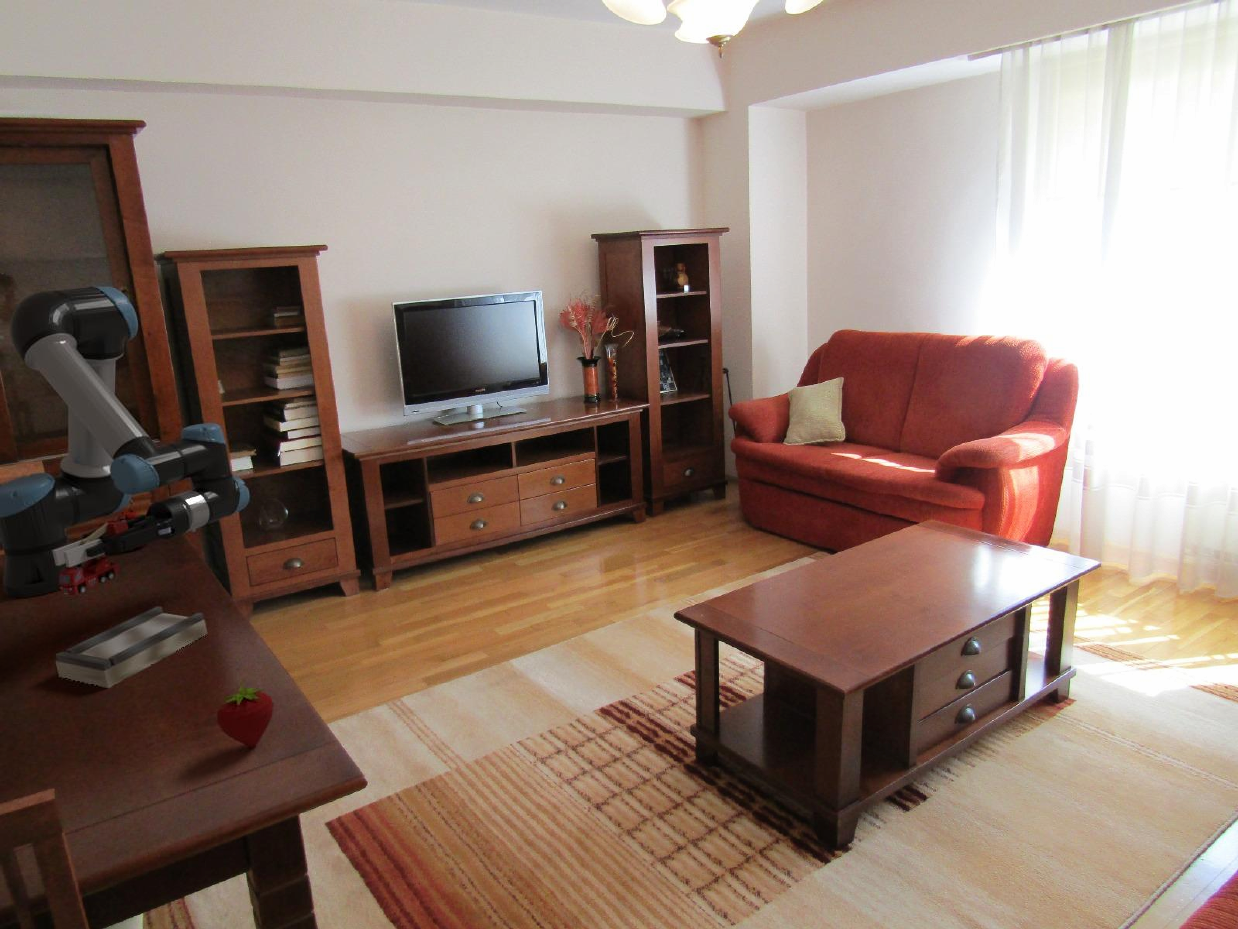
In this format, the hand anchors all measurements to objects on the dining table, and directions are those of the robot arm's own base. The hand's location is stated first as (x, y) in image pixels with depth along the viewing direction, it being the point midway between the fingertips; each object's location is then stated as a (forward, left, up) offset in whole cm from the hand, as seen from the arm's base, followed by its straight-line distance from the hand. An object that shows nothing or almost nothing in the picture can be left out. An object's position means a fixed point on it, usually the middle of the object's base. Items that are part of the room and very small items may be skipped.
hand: (61, 558), depth 149 cm
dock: (-4, +8, -19) cm, 21 cm away
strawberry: (+12, +51, -19) cm, 55 cm away
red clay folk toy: (-45, -45, -19) cm, 66 cm away
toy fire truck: (-6, 0, -7) cm, 9 cm away
